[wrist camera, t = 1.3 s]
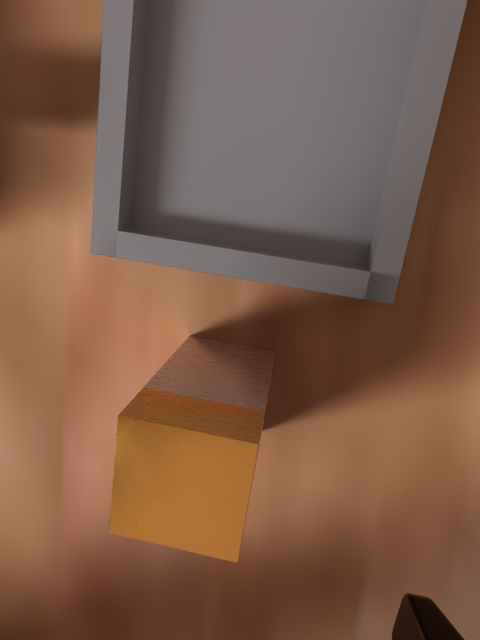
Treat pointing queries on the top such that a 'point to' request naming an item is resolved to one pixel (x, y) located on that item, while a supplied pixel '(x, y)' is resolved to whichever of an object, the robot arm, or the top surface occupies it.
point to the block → (192, 449)
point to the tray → (269, 136)
